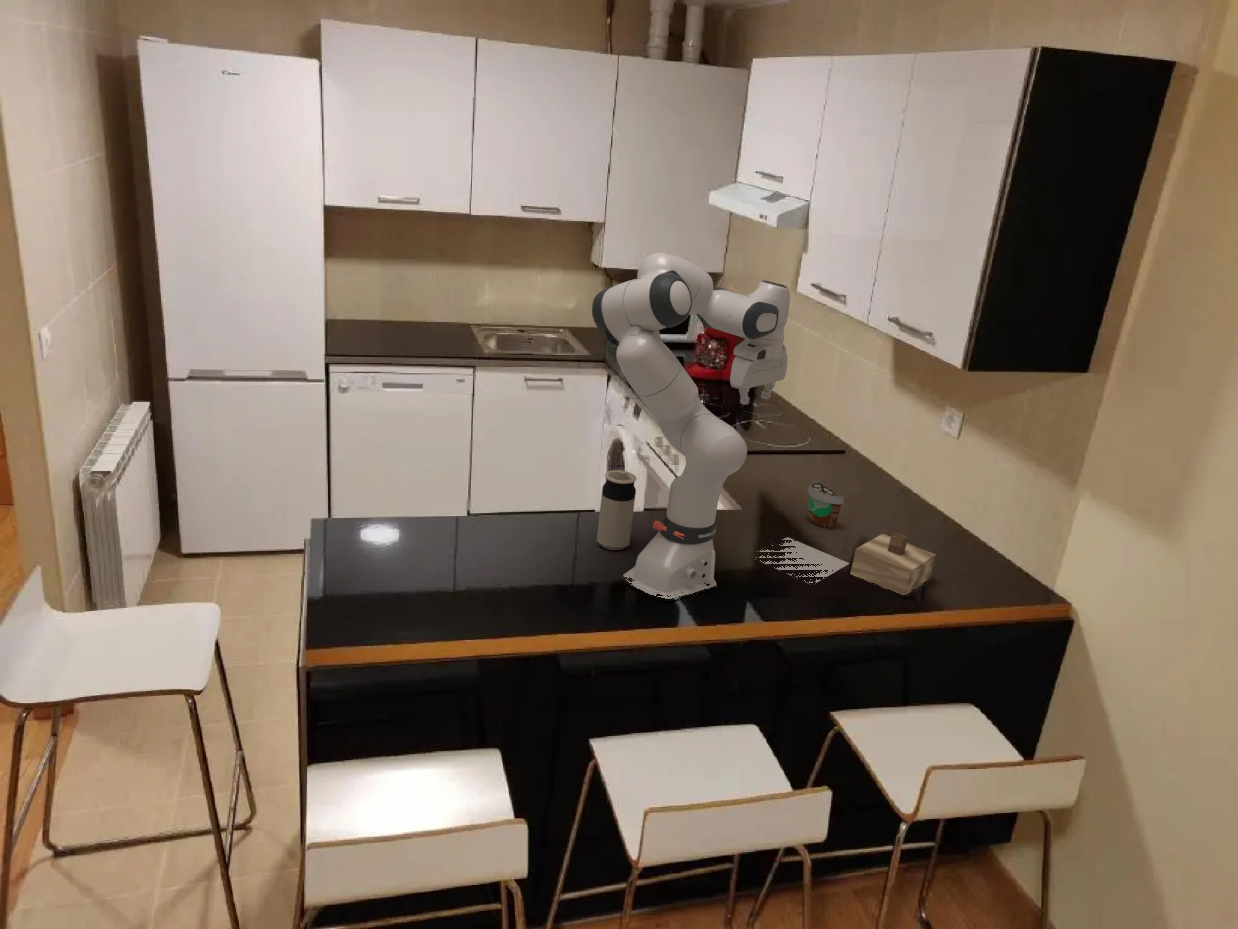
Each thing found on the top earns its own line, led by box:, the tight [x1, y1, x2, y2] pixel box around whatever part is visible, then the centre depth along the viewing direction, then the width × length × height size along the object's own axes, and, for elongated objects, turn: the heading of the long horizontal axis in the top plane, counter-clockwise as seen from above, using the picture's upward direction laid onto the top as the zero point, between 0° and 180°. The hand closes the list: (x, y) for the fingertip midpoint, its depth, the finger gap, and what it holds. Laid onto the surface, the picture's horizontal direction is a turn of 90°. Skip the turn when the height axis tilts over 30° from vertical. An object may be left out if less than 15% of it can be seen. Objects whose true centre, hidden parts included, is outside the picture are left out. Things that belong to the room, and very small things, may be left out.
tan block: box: [850, 532, 937, 595], centre depth 221 cm, size 14×14×11 cm
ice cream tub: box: [806, 479, 844, 530], centre depth 248 cm, size 12×6×10 cm, turn 21°
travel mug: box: [596, 469, 637, 547], centre depth 221 cm, size 8×8×18 cm
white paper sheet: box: [756, 536, 850, 584], centre depth 226 cm, size 18×18×1 cm
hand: (754, 401), depth 232 cm, fingers open, 8 cm apart
